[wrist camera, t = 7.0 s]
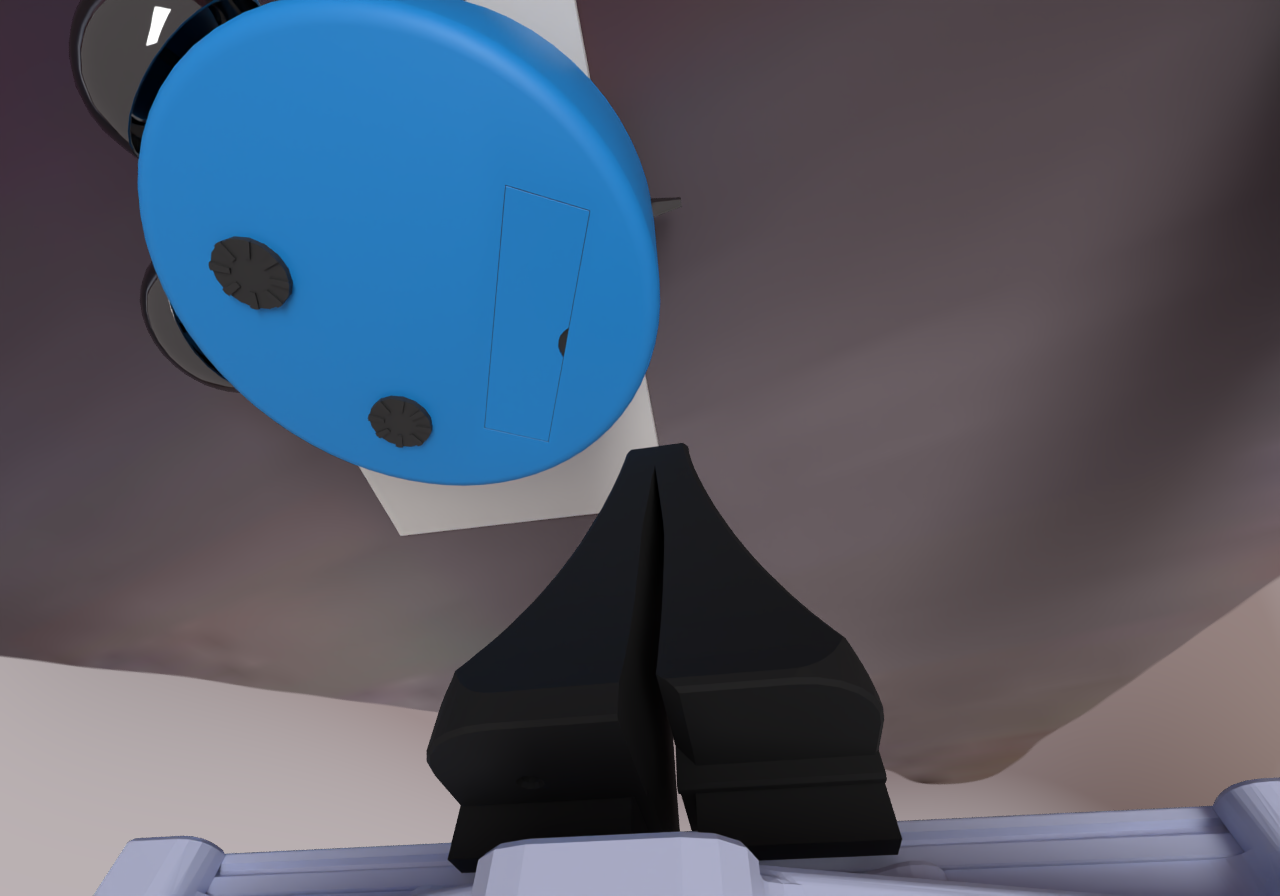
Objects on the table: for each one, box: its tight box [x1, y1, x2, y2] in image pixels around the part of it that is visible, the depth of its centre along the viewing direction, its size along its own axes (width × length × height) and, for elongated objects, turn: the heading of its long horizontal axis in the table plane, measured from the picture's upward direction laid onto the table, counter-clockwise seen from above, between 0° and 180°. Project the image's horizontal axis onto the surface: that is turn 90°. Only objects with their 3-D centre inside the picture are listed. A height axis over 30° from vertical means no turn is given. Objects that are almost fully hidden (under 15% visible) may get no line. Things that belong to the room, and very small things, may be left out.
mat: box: [359, 0, 659, 536], centre depth 22 cm, size 14×20×1 cm
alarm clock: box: [69, 0, 682, 486], centre depth 17 cm, size 13×6×15 cm
